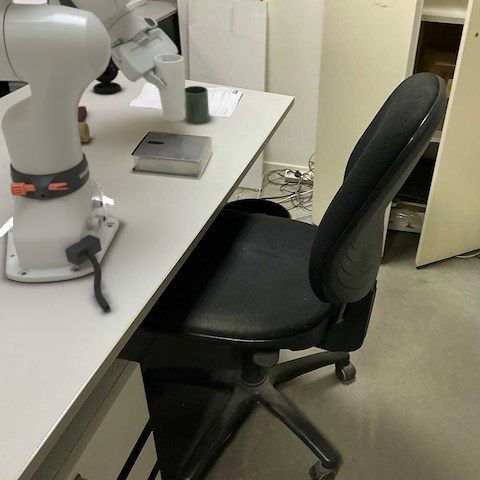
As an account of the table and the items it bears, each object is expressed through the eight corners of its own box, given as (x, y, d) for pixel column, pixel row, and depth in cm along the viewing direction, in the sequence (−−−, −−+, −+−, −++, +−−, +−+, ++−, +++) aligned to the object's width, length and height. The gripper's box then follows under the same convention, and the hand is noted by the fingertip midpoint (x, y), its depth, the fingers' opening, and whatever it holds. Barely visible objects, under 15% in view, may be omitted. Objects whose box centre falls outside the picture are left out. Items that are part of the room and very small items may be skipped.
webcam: (95, 96, 155) (89, 60, 149) (91, 87, 160) (84, 52, 155) (124, 92, 158) (119, 57, 153) (118, 84, 164) (113, 50, 158)
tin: (209, 123, 144) (207, 94, 140) (186, 124, 143) (183, 94, 139) (208, 114, 149) (207, 85, 144) (186, 115, 148) (183, 86, 143)
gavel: (63, 98, 144) (103, 99, 145) (66, 115, 146) (105, 115, 147) (37, 125, 126) (83, 126, 127) (41, 144, 128) (86, 144, 130)
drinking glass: (193, 116, 138) (188, 55, 130) (181, 126, 133) (175, 63, 124) (168, 112, 140) (162, 52, 131) (155, 121, 134) (148, 59, 126)
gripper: (111, 37, 117) (159, 88, 121) (156, 16, 134) (197, 62, 138) (96, 55, 120) (142, 104, 124) (142, 33, 137) (181, 77, 141)
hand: (171, 82), depth 131 cm, fingers closed on drinking glass, 6 cm apart
